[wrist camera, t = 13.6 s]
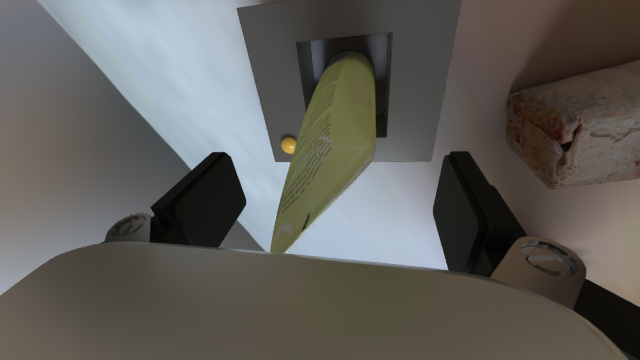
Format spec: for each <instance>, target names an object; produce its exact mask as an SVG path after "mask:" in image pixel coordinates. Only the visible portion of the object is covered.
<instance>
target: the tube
mask: <svg viewBox="0 0 640 360" xmlns="http://www.w3.org/2000/svg"><path fill="white" fill-rule="evenodd" d="M375 149H376V108H375V74H374V69H373V66H372V64H371V62H370V61H369V60H368V59H367V58H366V57H365V56H364V55H362V54H361V53H358V52H355V51H346V52H342V53H340V54H338V55H336V56H335V57H333V58H332V59H331V60H330V62H329V63H328V65H327V66H326V68H325V70H324V72H323V74H322V76H321V78H320V80H319V82H318V84H317V87H316V89H315V91H314V94H313V96H312V99H311V101H310V104H309V106H308V109H307V112H306V115H305V117H304V121H303V124H302V127H301V130H300V133H299V136H298V139H297V142H296V146H295V149H294V153H293V156H292V160H291V163H290V167H289V170H288V174H287V177H286V180H285V184H284V188H283V192H282V195H281V199H280V203H279V208H278V212H277V216H276V221H275V226H274V231H273V237H272V242H271V249H270V252H272V253H283V254H286V253H287V252H288V251H289V250H290V249H291V248H292V246H293V245H294V244H295V243H296V242H297V241H298V240H299V239H300V238H301V237H302V235H303V234H304V233H305V232H306V231H307V230H308V229H309V228H310V227H311V226H312V225H313V224H314V223H315V222H316V221H317V220H318V219H319V218H320V216H321V215H322V214H323V213H324V212H325V211H326V210H327V209H328V208H329V207H330V206H331V205H332V204H333V203H334V202H335V200H336V199H337V198H338V197H339V196H340V195H341V194H342V193H343V192H344V191H345V190H346V189H347V188H348V187H349V186H350V185H351V184H352V183H353V182H354V181H355V180H356V179H357V178H358V177H359V176H360V174H361V173H362V172H363V171H364V170H365V169H366V168H367V167H368V165H369V164H370V163H371V162H372V161H373V159H374V156H375Z"/></svg>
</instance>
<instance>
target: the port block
mask: <svg viewBox="0 0 640 360" xmlns="http://www.w3.org/2000/svg"><path fill="white" fill-rule="evenodd" d="M460 5H461V0H290V1H283V2H276V3H269V4H262V5H255V6H248V7H241V8H237V12H238V16H239V20H240V24H241V28H242V32H243V36H244V40H245V44H246V48H247V52H248V55H249V59H250V63H251V67H252V71H253V75H254V79H255V83H256V87H257V91H258V95H259V99H260V103H261V107H262V111H263V115H264V119H265V123H266V127H267V131H268V135H269V139H270V143H271V147H272V151H273V155H274V159H275V162H291V160H292V156H293V153H294V149H295V146H296V142H297V139H298V136H299V133H300V130H301V127H302V124H303V121H304V117H305V115H306V112H307V109H308V106H309V104H310V101H311V99H312V96H313V94H314V91H315V80H314V71H313V63H312V54H311V45H310V41H311V40H321V39H330V38H340V37H349V36H359V35H369V34H378V33H388V32H389V35H388V55H387V75H386V94H385V114H384V116H376V149H375V156H374V159H373V161H372V162H431V158H432V153H433V148H434V143H435V137H436V132H437V127H438V121H439V116H440V111H441V106H442V100H443V95H444V90H445V84H446V79H447V74H448V68H449V63H450V58H451V53H452V47H453V42H454V37H455V31H456V26H457V21H458V16H459V10H460Z"/></svg>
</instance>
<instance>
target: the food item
mask: <svg viewBox="0 0 640 360" xmlns="http://www.w3.org/2000/svg"><path fill="white" fill-rule="evenodd" d="M506 115H507V135H506V138H507V141H508V145H509V146H510V148H511V150H512V151H514V152H515V153H516V154H517V155H518V156H519V157H520V158H521V159H522V160H523V162H524V163H525V164H526V165H527V166H528V167H529V168H530V169H531V170H532V171H533V172H534V173H535V174H536V175H537V177H538V178H539V179H540V180H541V181H542V182H544V184H545V185H546V186H547V187H548V188H549V189H550V190H551V189H557V188H562V187H569V186H576V185H591V184H601V183H606V182H614V181H624V180H632V179H638V178H640V59H639V60H636V61H633V62H629V63H626V64H622V65H617V66H613V67H609V68H605V69H599V70H595V71H591V72H587V73H583V74H579V75H576V76H572V77H568V78H565V79H562V80H558V81H554V82H550V83H547V84H543V85H539V86H535V87H532V88H528V89H524V90H521V91H518V92H515V93H513V94H509V99H508V105H507V106H506Z"/></svg>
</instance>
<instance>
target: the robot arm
mask: <svg viewBox="0 0 640 360" xmlns="http://www.w3.org/2000/svg"><path fill="white" fill-rule="evenodd" d="M245 206H246V198H245V195H244V192H243V189H242V187H241V184H240V181H239V178H238V176H237V173H236V170H235V167H234V164H233V162H232V159H231V157H230V156H229V155H228V154H227V153H225V152H212V153H211V154H210V155H209V156H207V157H206V158H205V159H204V160H203V161H202V162H201V163H200V164H198V165H197V166H196V167H195V168H194V169H193V170H192V171H191V172H189V173H188V174H187V175H186V176H185V177H184V178H183V179H182V180H181V181H179V182H178V183H177V184H176V185H175V186H174V187H173V188H172V189H170V190H169V191H168V192H167V193H166V194H165V195H164V196H163V197H161V198H160V199H159V200H158V201H157V202H156V203H155V204H154V205H153V206H151V209H152V211H153V212H154V214H155V215H154V216H153V217H151V216H150V215H149V214H147V213H137V214H133V215H130V216H128V217H125V218H123V219H121V220H120V221H118V222H117V223H115V224H114V225H113V226H112V227H111V228H110V229H109V230H108V232H107V234H106V238H105V241H104V242H102V243H99V244H94V245H90V246H86V247H81V248H77V249H74V250H71V251H68V252H65V253H63V254H60V255H58V256H56V257H54V258H52V259H50V260H49V261H47V262H46V263H44V264H43V265H41V266H40V267H38V268H37V269H35V270H34V271H33V272H31V273H30V274H29V275H27V276H26V277H24V278H23V279H22V280H20V281H19V282H18V283H16V284H15V285H14V286H12V287H11V288H10V289H9V290H7V291H6V292H4V293H3V294H2V295H0V360H640V307H638V306H636V305H635V304H633V303H631V302H629V301H627V300H625V299H623V298H621V297H619V296H618V295H616V294H614V293H612V292H610V291H608V290H606V289H604V288H602V287H601V286H599V285H597V284H595V283H593V282H591V281H589V280H587V279H585V278H586V267H585V265H584V263H583V261H582V260H581V259H580V258H579V257H578V256H577V255H576V254H575V253H573V252H572V251H571V250H569V249H568V248H566V247H565V246H563V245H561V244H559V243H557V242H554V241H551V240H549V239H546V238H541V237H536V236H527V234H526V233H525V231H524V230H523V228H522V227H521V225H520V224H519V222H518V221H517V219H516V218H515V216H514V215H513V213H512V212H511V210H510V209H509V207H508V206H507V204H506V203H505V201H504V200H503V198H502V197H501V195H500V194H499V192H498V191H497V189H496V188H495V187H494V186H492V185H490V184H489V183H488V181H487V180H486V178H485V176H484V175H483V173H482V172H481V170H480V169H479V167H478V166H477V164H476V162H475V161H474V159H473V158H472V156H471V155H470V153H469V152H468V151H452V152H450V154H449V155H445V157H444V160H443V164H442V169H441V174H440V178H439V183H438V188H437V192H436V197H435V201H434V206H433V216H434V219H435V223H436V227H437V230H438V234H439V237H440V241H441V245H442V248H443V252H444V255H445V259H446V263H447V266H448V270H449V271H448V270H441V269H433V268H425V267H416V266H406V265H397V264H388V263H378V262H368V261H357V260H347V259H337V258H326V257H316V256H305V255H294V254H283V253H272V252H260V251H250V250H239V249H227V248H218V247H219V246H220V244H221V243H222V241H223V240H224V238H225V236H226V235H227V233H228V232H229V230H230V229H231V227H232V226H233V224H234V223H235V221H236V220H237V218H238V217H239V215H240V214H241V212H242V210H243V209H244V207H245Z"/></svg>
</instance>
